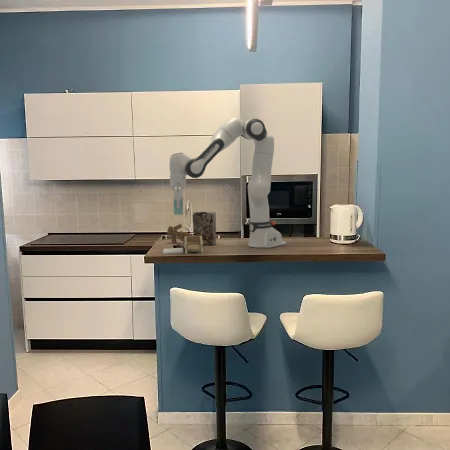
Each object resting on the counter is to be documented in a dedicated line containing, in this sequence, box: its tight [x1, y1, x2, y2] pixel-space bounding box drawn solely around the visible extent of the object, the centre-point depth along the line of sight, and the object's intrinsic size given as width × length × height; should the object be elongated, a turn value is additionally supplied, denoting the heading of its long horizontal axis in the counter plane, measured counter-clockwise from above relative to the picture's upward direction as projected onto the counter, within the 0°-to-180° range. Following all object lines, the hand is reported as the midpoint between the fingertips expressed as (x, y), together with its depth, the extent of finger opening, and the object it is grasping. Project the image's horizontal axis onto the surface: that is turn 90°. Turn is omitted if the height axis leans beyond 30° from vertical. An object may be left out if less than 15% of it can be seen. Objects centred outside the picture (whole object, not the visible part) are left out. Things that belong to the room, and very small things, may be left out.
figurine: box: [166, 223, 193, 244], centre depth 294 cm, size 13×2×15 cm
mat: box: [162, 247, 184, 255], centre depth 269 cm, size 11×11×1 cm
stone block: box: [192, 210, 217, 246], centre depth 286 cm, size 13×7×20 cm, turn 77°
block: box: [173, 197, 184, 216], centre depth 265 cm, size 5×5×9 cm
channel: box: [183, 235, 204, 255], centre depth 268 cm, size 18×10×7 cm, turn 5°
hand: (178, 207), depth 266 cm, fingers closed on block, 5 cm apart
